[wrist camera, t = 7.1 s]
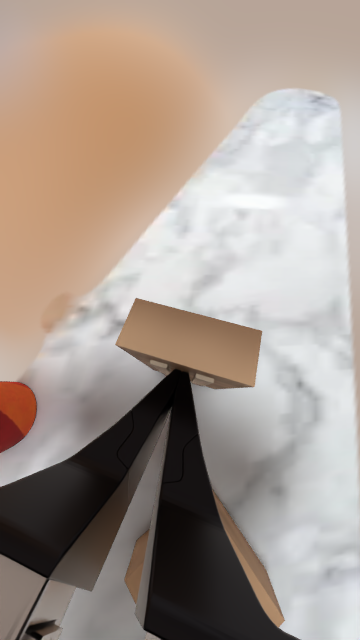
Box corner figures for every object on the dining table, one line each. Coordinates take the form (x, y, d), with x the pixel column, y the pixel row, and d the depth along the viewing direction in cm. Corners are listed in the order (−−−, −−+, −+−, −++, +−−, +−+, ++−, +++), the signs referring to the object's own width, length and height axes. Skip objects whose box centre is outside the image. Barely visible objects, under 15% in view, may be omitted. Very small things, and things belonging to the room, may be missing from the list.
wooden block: (214, 391, 16) (253, 392, 7) (152, 371, 17) (113, 349, 8) (220, 363, 17) (262, 331, 8) (161, 346, 18) (136, 298, 9)
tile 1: (192, 640, 13) (192, 729, 9) (137, 536, 14) (123, 583, 11) (264, 565, 13) (286, 625, 10) (204, 476, 15) (208, 504, 12)
